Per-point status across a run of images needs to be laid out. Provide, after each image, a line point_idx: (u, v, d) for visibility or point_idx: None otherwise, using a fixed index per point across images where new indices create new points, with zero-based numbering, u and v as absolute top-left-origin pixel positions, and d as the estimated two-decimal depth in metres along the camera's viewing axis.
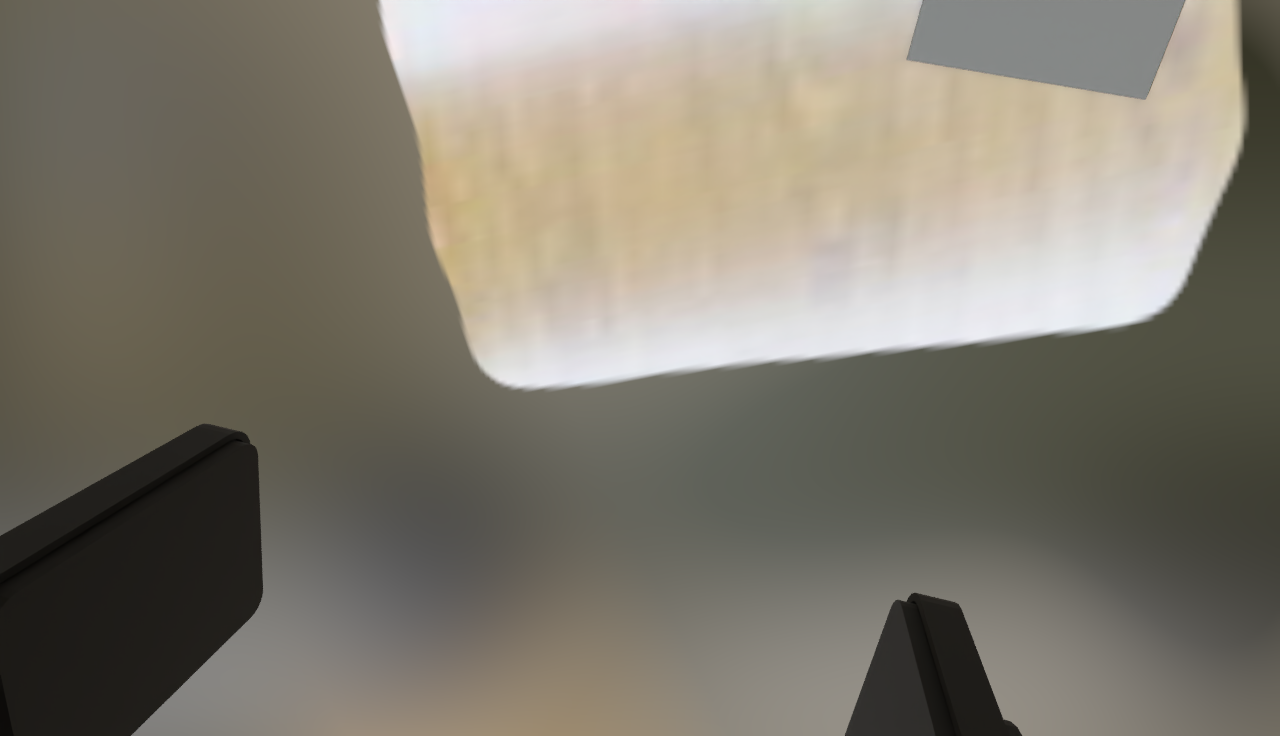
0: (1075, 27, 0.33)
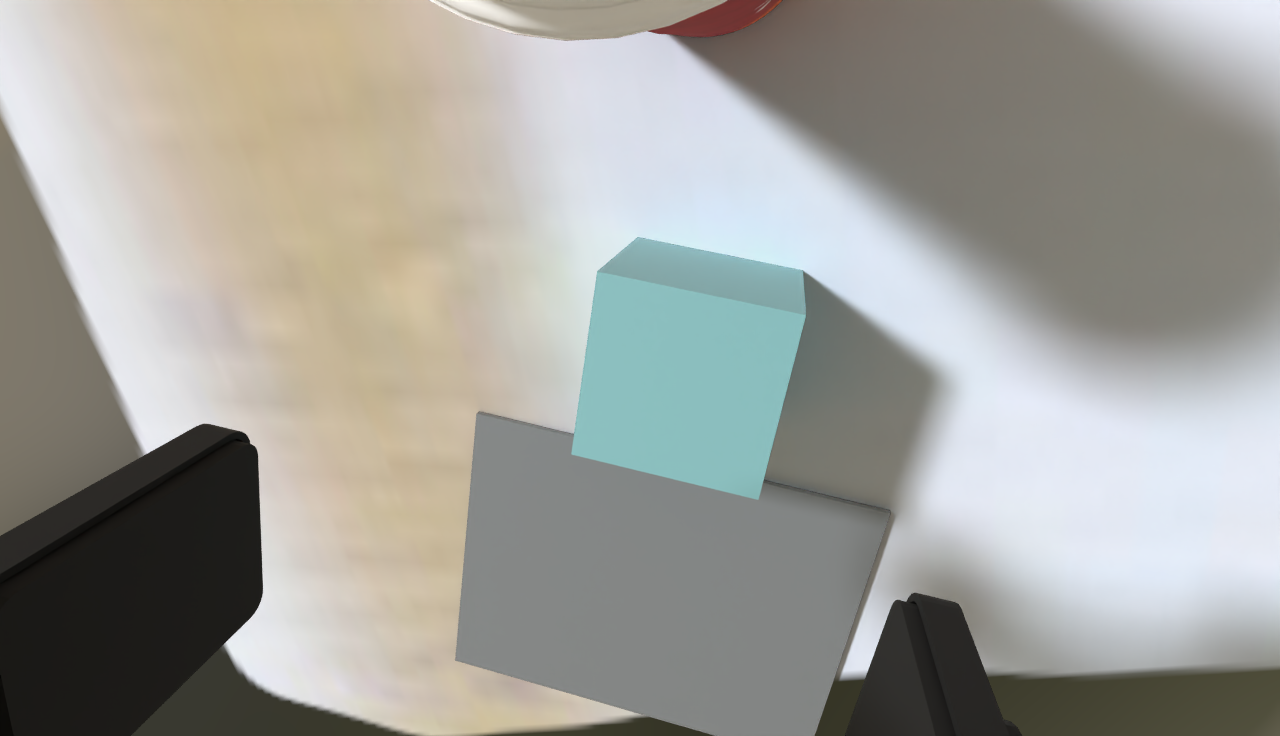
0: (524, 594, 0.27)
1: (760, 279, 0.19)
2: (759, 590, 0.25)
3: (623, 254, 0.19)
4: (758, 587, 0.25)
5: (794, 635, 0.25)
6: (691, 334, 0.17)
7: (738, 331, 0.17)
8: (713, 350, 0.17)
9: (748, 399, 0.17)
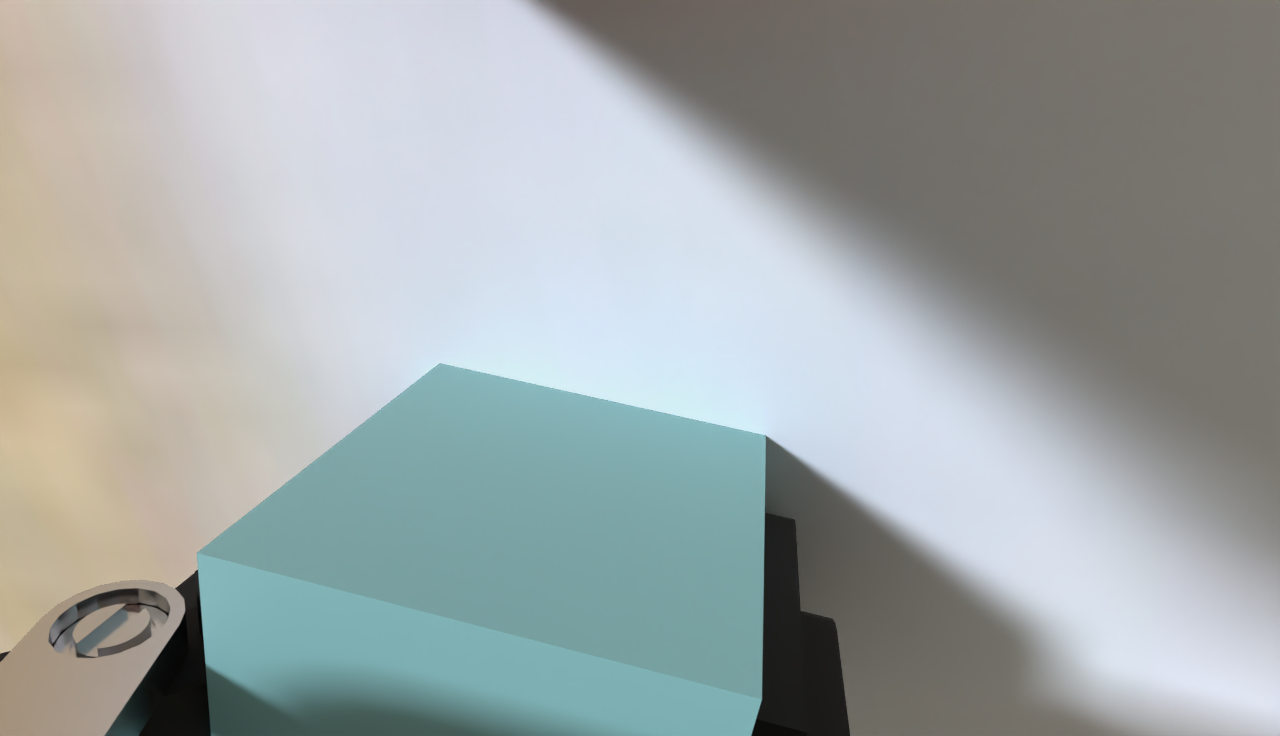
0: None
1: (664, 499, 0.08)
2: None
3: (350, 443, 0.08)
4: None
5: None
6: (458, 714, 0.06)
7: (579, 719, 0.06)
8: None
9: None
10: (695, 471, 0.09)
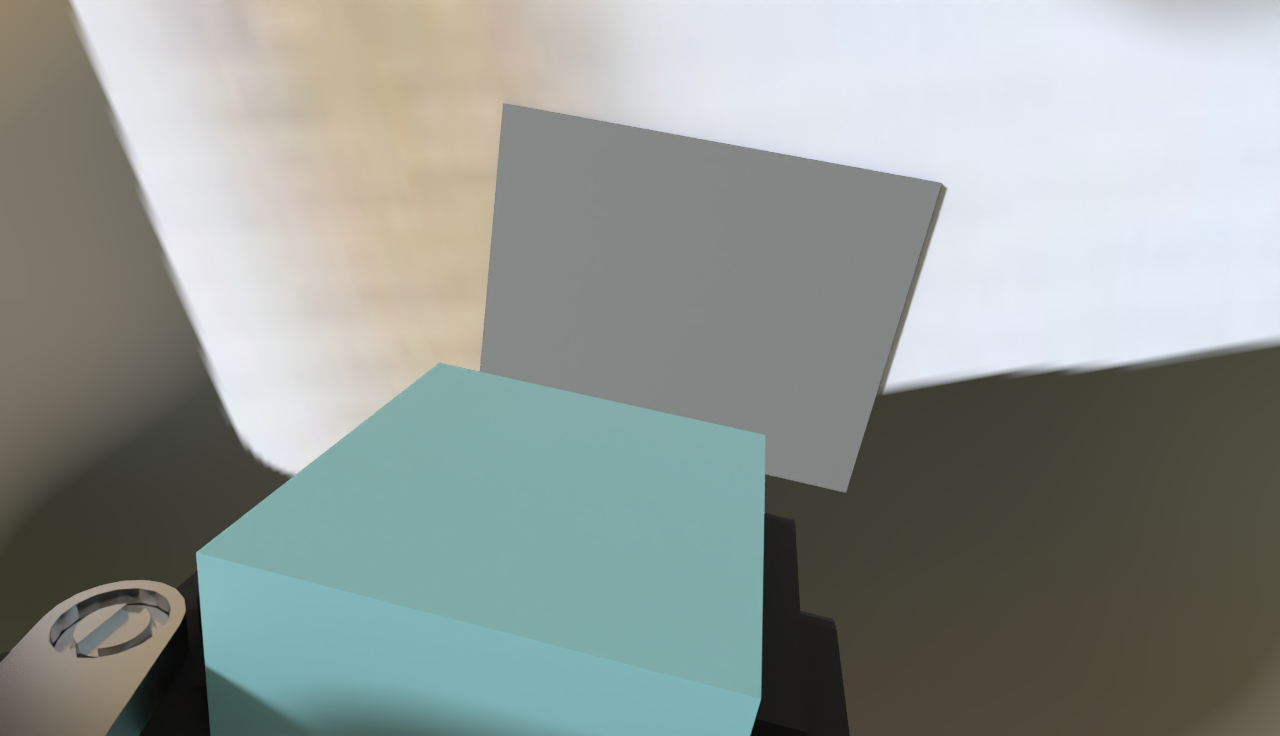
0: (552, 320, 0.26)
1: (664, 499, 0.08)
2: (801, 290, 0.24)
3: (350, 443, 0.08)
4: (800, 287, 0.24)
5: (837, 341, 0.24)
6: (458, 714, 0.06)
7: (579, 719, 0.06)
8: None
9: None
10: (695, 471, 0.09)
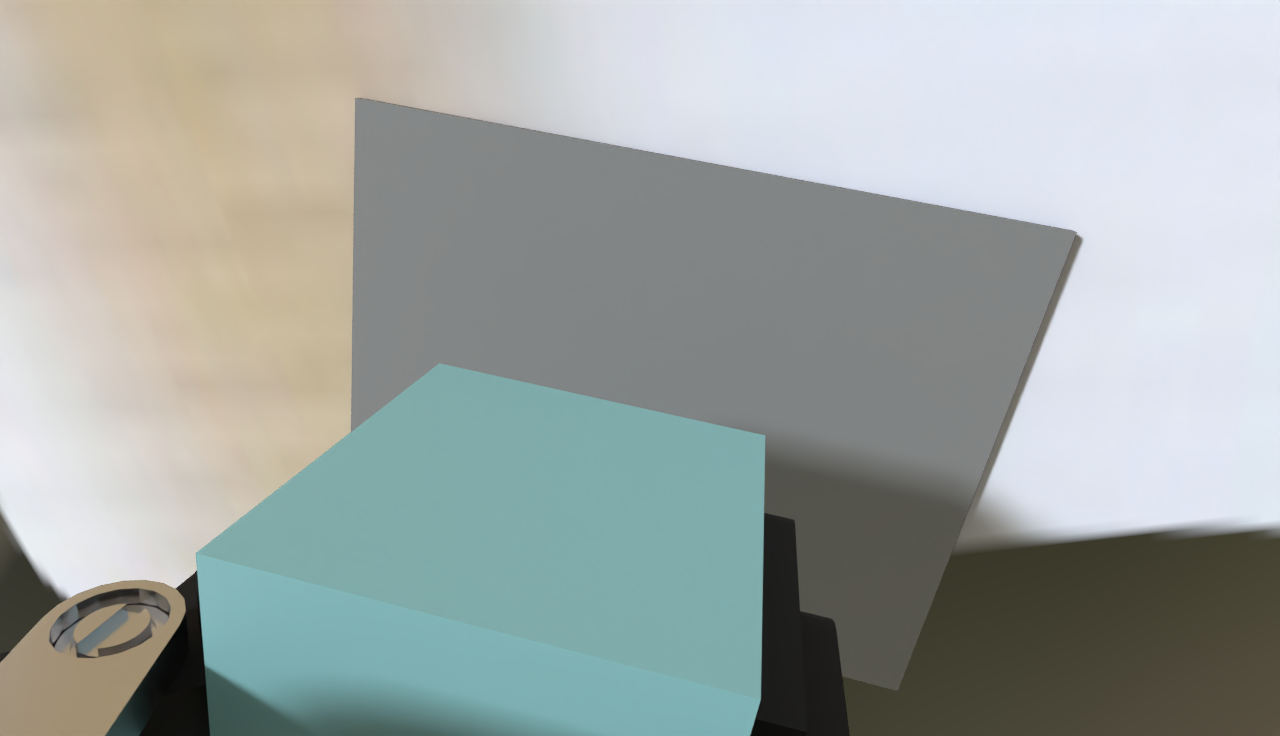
0: None
1: (664, 500, 0.08)
2: (834, 396, 0.15)
3: (349, 444, 0.08)
4: (833, 391, 0.15)
5: (890, 475, 0.15)
6: (457, 715, 0.06)
7: (579, 719, 0.06)
8: None
9: None
10: (694, 471, 0.09)
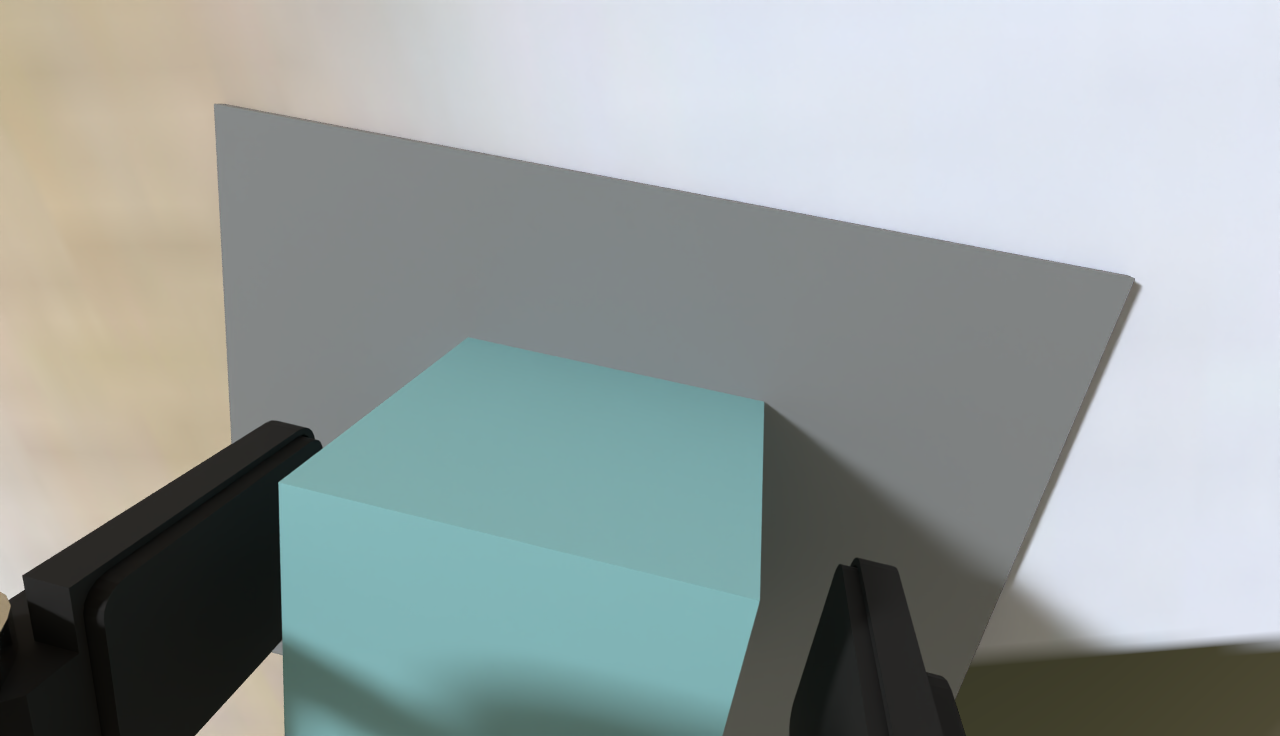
0: None
1: (674, 451, 0.09)
2: (824, 478, 0.12)
3: (396, 401, 0.09)
4: (822, 472, 0.12)
5: None
6: (500, 622, 0.08)
7: (604, 623, 0.07)
8: (551, 658, 0.08)
9: None
10: (701, 429, 0.10)
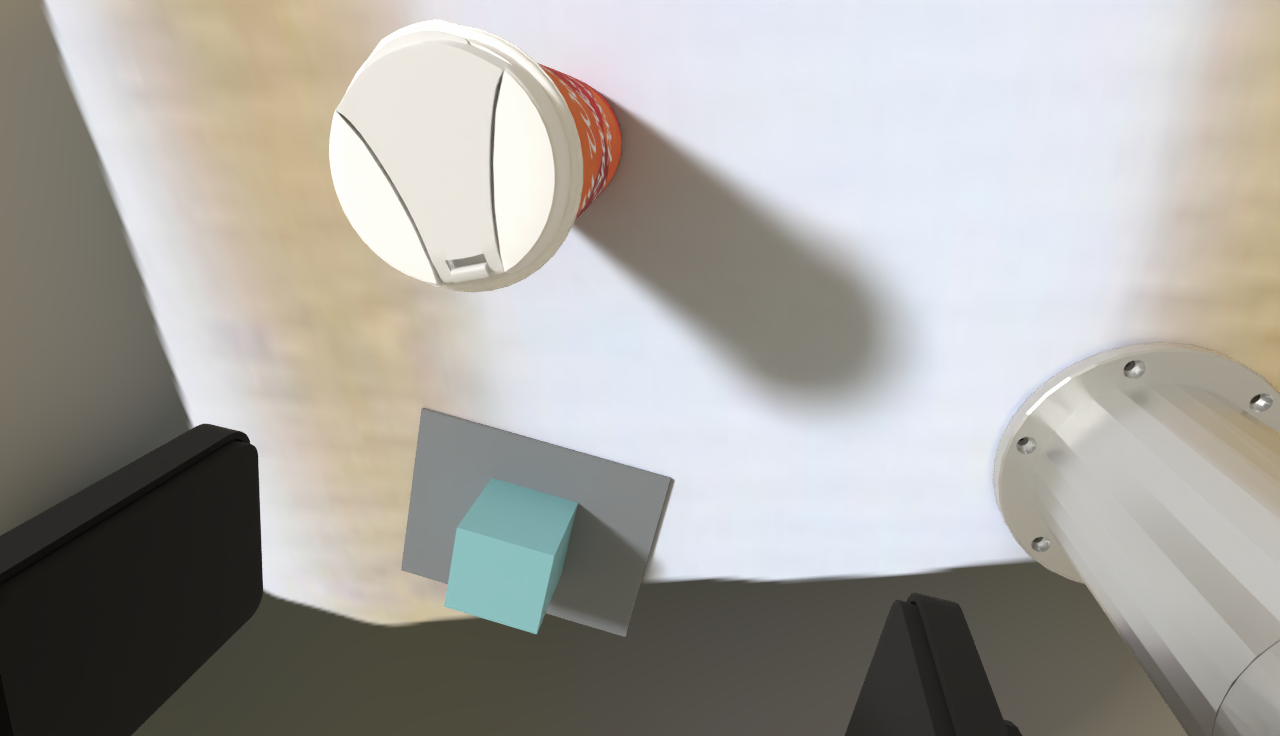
0: (448, 526, 0.42)
1: (546, 520, 0.37)
2: (595, 525, 0.40)
3: (476, 504, 0.37)
4: (595, 523, 0.40)
5: (616, 554, 0.40)
6: (501, 558, 0.36)
7: (523, 559, 0.35)
8: (512, 566, 0.36)
9: (529, 589, 0.36)
10: (555, 513, 0.38)
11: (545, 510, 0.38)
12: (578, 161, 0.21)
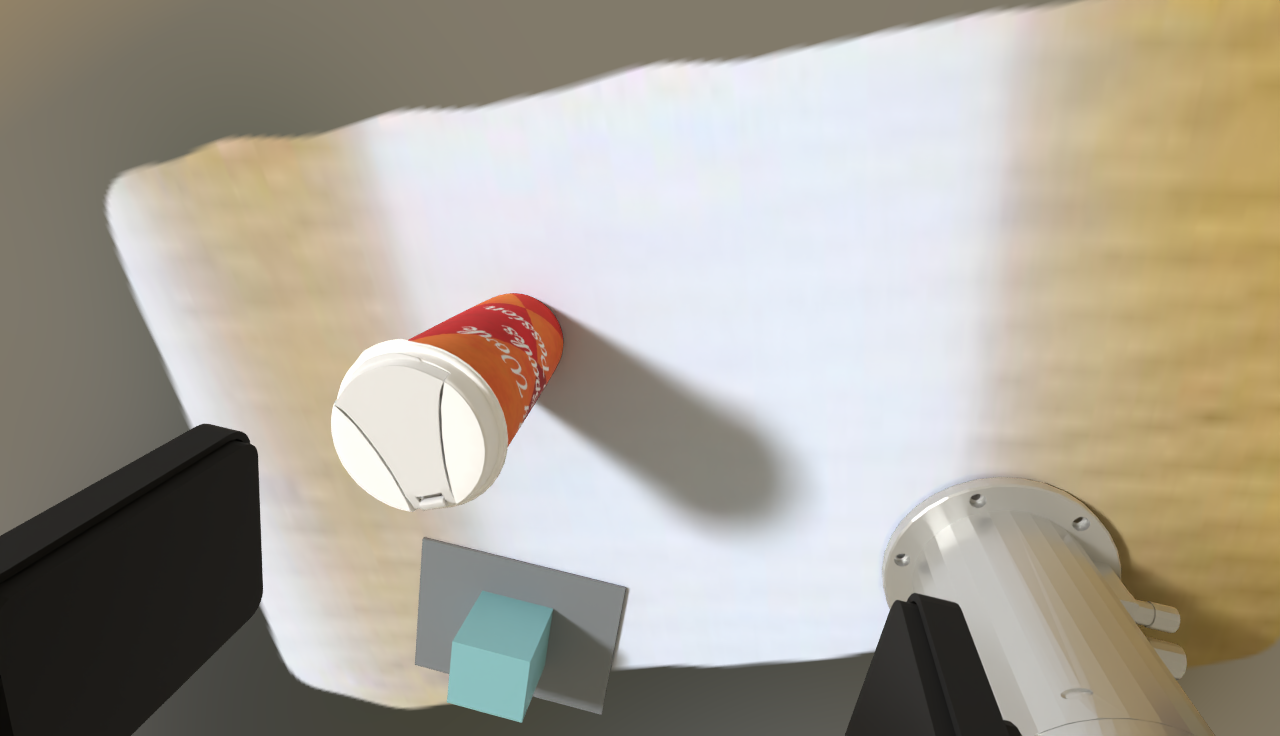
0: (450, 629, 0.50)
1: (525, 628, 0.46)
2: (568, 626, 0.49)
3: (468, 617, 0.46)
4: (568, 624, 0.49)
5: (588, 648, 0.49)
6: (489, 664, 0.44)
7: (506, 665, 0.44)
8: (498, 670, 0.44)
9: (513, 687, 0.45)
10: (533, 620, 0.47)
11: (525, 618, 0.47)
12: (502, 426, 0.30)
